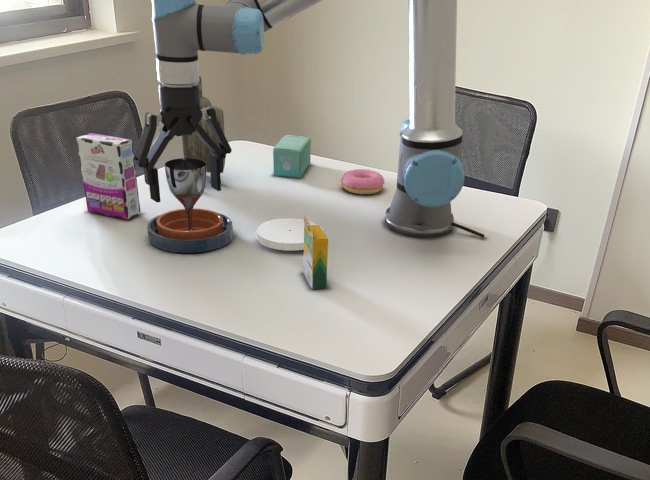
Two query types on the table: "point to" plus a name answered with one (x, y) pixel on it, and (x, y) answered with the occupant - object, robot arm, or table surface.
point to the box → (291, 156)
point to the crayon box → (315, 255)
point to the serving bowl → (190, 244)
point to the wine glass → (186, 182)
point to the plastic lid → (282, 234)
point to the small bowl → (178, 221)
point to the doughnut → (362, 181)
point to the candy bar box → (109, 175)
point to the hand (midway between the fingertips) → (186, 194)
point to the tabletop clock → (193, 143)
